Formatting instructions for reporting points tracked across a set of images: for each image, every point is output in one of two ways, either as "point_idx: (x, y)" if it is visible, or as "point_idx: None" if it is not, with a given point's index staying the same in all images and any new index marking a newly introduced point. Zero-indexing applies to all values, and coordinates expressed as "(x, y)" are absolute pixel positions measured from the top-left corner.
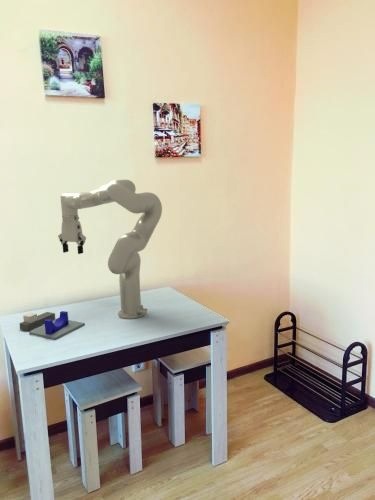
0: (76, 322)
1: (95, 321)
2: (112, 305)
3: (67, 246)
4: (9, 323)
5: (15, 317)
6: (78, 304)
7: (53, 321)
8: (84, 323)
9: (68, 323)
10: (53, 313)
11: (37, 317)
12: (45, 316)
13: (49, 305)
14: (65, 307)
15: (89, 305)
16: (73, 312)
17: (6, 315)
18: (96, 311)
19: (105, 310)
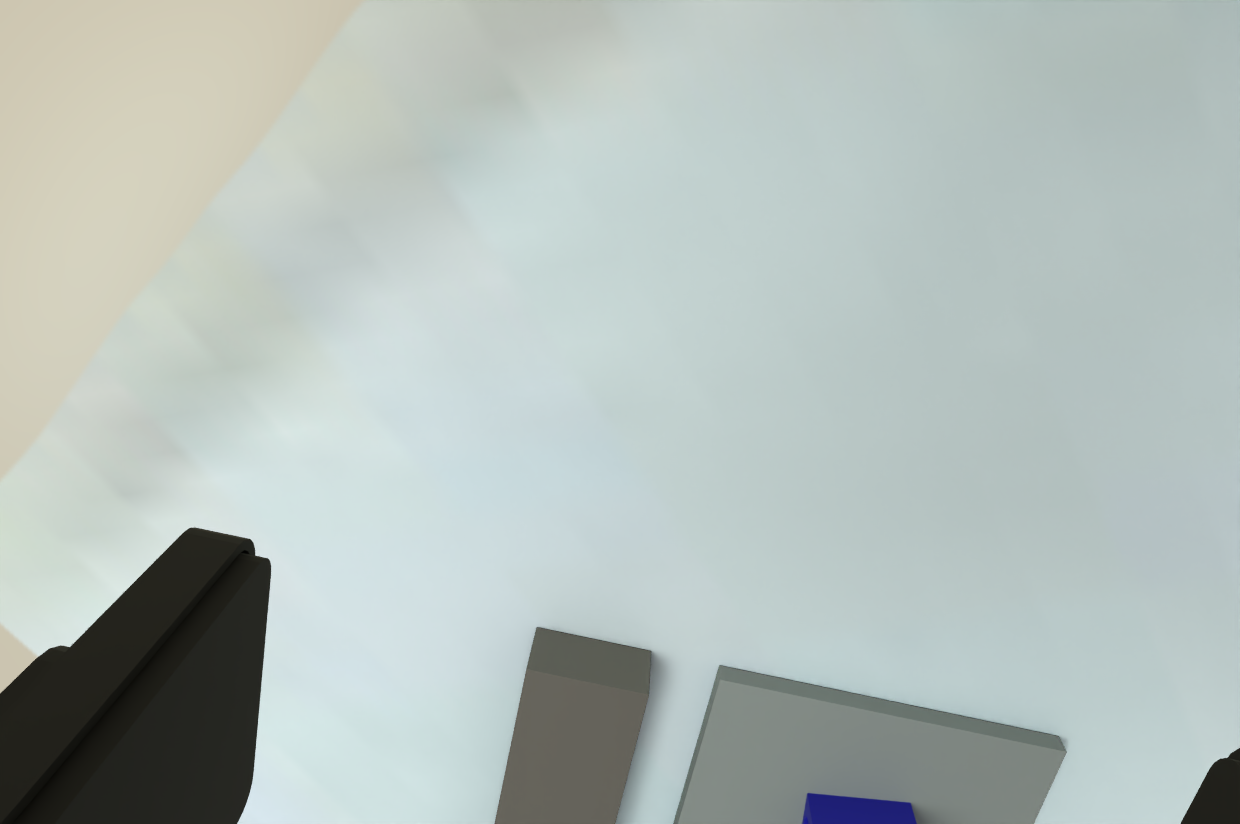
0: (970, 751)
1: (1142, 634)
2: (1193, 57)
3: (117, 787)
4: (261, 802)
5: None
6: (640, 121)
7: (705, 763)
8: (1064, 748)
9: (912, 813)
10: (639, 703)
11: (538, 821)
12: (606, 787)
13: (256, 244)
14: (527, 277)
15: (829, 130)
16: (741, 427)
17: (38, 636)
18: (1033, 342)
19: (1149, 284)
